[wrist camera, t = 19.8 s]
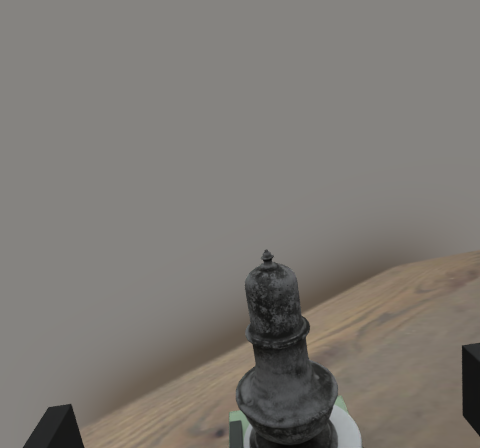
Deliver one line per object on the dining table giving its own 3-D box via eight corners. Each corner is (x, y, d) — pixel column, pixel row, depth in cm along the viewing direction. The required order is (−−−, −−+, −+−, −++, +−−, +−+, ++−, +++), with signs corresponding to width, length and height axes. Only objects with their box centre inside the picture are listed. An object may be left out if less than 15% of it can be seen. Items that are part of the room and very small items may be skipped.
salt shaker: (224, 454, 23) (187, 264, 20) (277, 393, 27) (252, 230, 24) (315, 501, 19) (286, 278, 16) (358, 422, 24) (341, 235, 21)
